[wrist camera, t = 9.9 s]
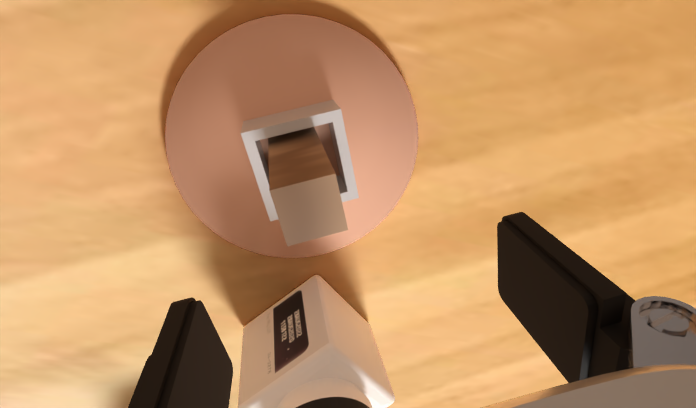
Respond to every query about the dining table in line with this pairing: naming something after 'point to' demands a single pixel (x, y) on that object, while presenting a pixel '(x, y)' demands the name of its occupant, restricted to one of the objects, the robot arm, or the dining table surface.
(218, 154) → the clip base
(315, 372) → the container
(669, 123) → the dining table surface
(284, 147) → the wooden square post
